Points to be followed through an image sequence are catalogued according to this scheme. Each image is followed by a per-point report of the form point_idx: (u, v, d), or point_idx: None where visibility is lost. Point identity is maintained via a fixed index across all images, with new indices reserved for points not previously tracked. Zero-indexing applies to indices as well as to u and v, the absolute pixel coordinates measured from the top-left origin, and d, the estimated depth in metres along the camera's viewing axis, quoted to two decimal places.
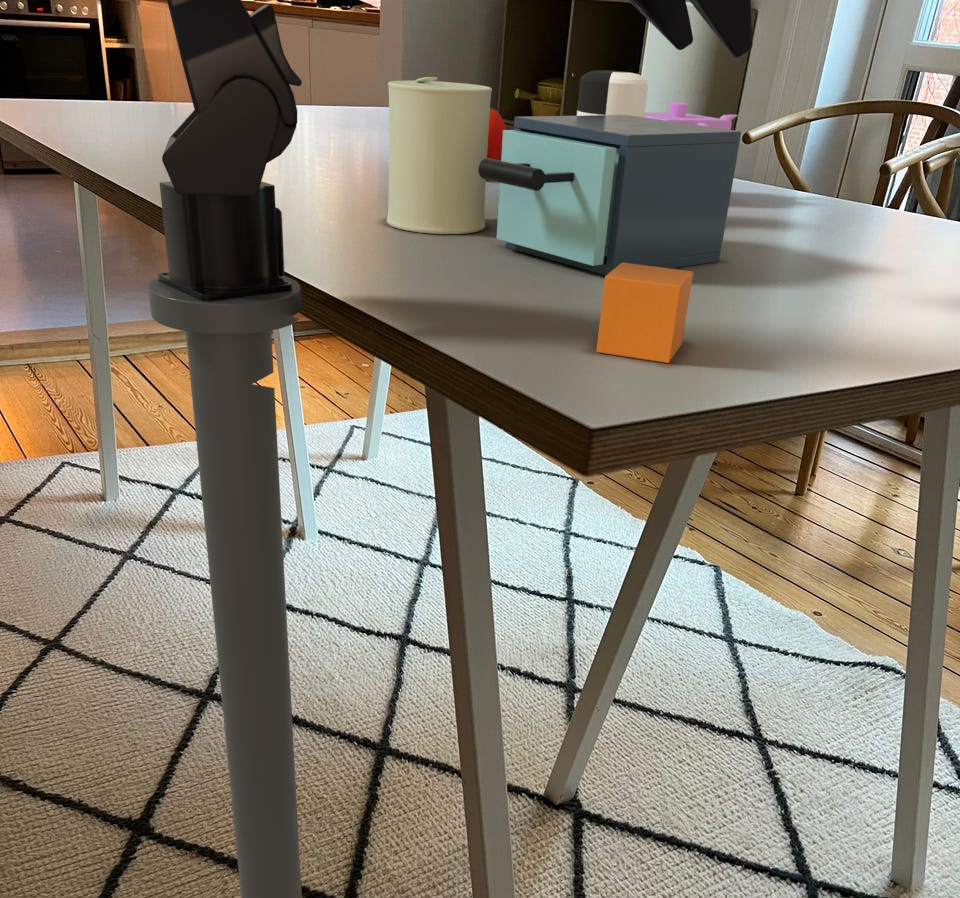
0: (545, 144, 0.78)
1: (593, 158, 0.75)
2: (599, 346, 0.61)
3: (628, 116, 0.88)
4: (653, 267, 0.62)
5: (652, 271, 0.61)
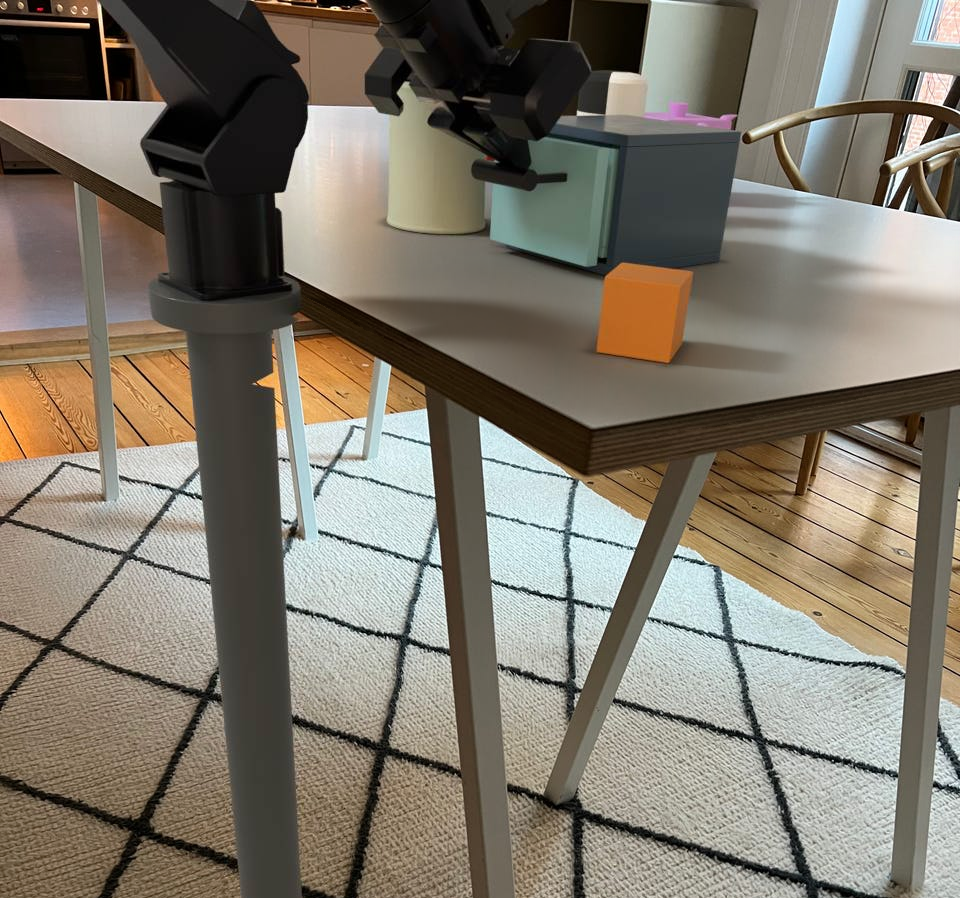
0: (538, 144, 0.78)
1: (586, 158, 0.75)
2: (599, 346, 0.61)
3: (628, 116, 0.88)
4: (653, 267, 0.62)
5: (652, 271, 0.61)
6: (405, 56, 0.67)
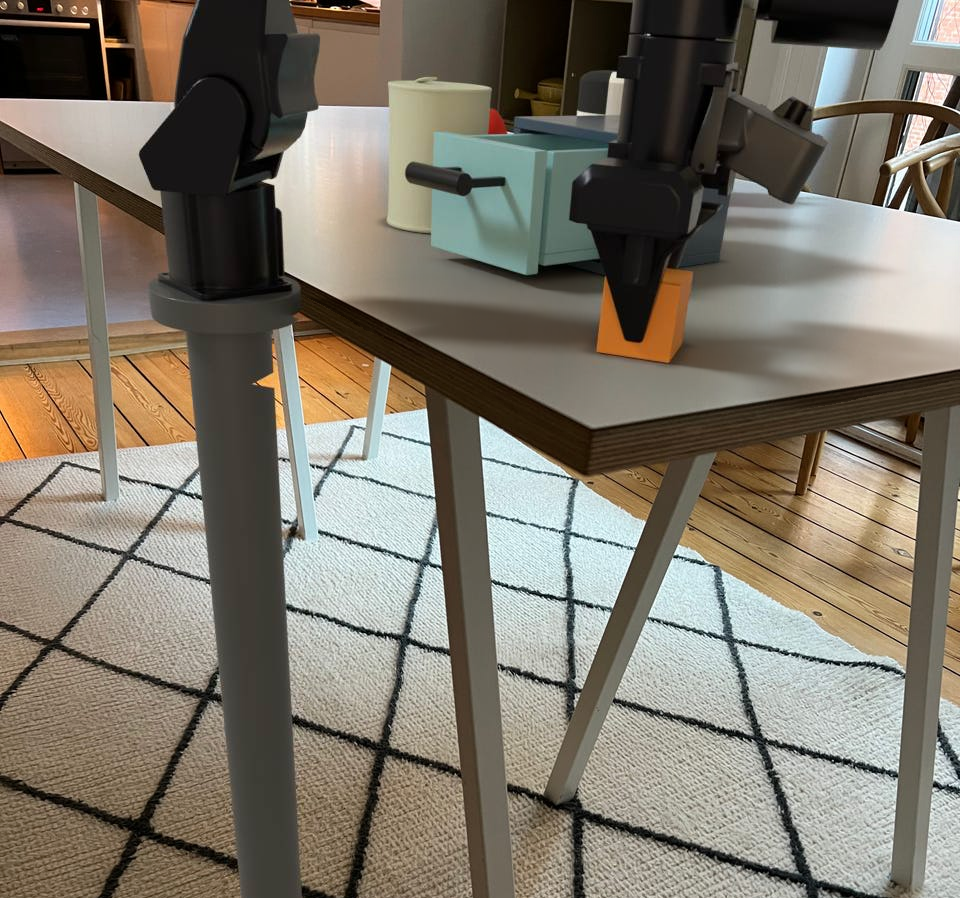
0: (476, 147, 0.74)
1: (523, 162, 0.71)
2: (599, 346, 0.61)
3: None
4: None
5: None
6: None
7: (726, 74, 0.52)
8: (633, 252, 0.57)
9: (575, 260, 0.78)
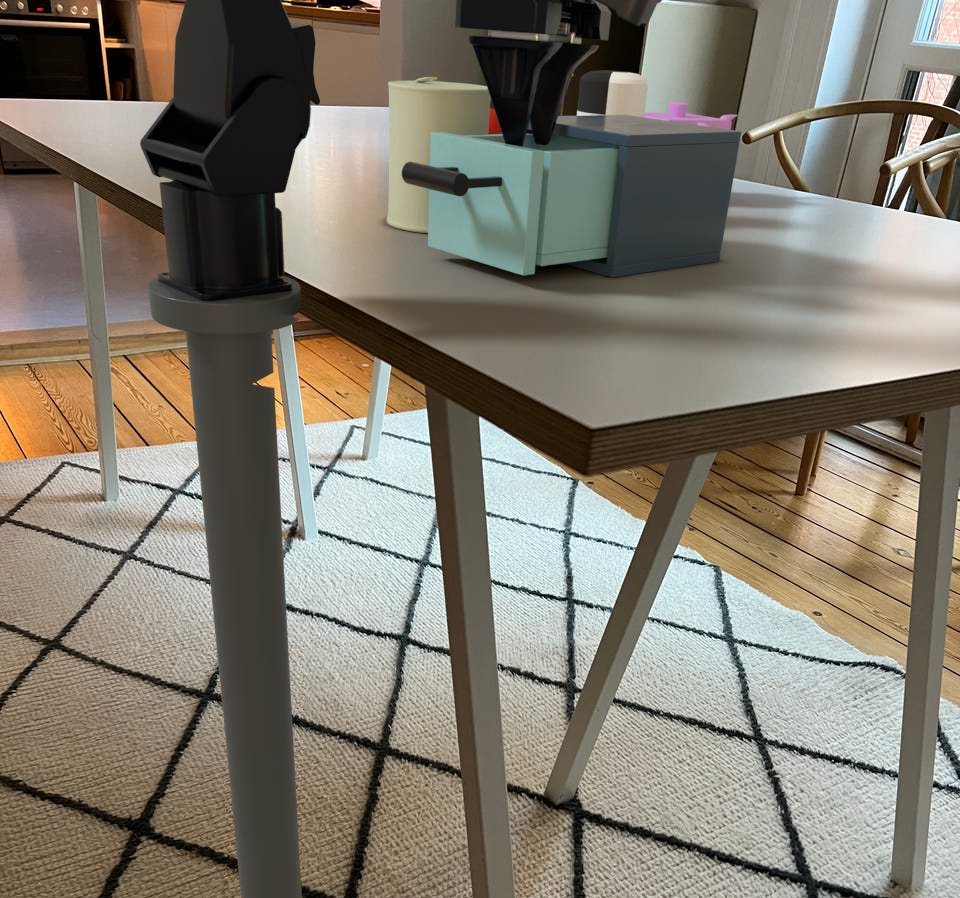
0: (472, 147, 0.74)
1: (520, 162, 0.71)
2: None
3: (628, 116, 0.88)
4: None
5: None
6: None
7: None
8: (509, 68, 0.70)
9: (572, 260, 0.78)
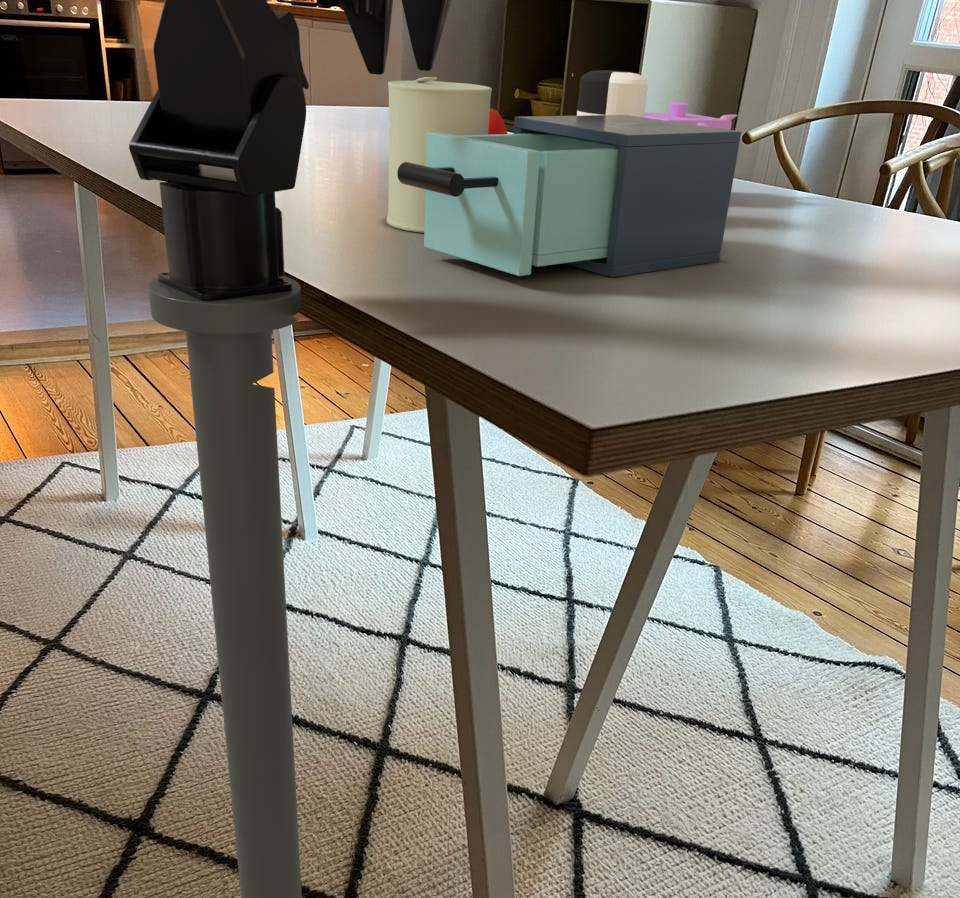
0: (468, 147, 0.74)
1: (516, 162, 0.71)
2: None
3: (628, 116, 0.88)
4: None
5: None
6: None
7: None
8: None
9: (569, 261, 0.78)
